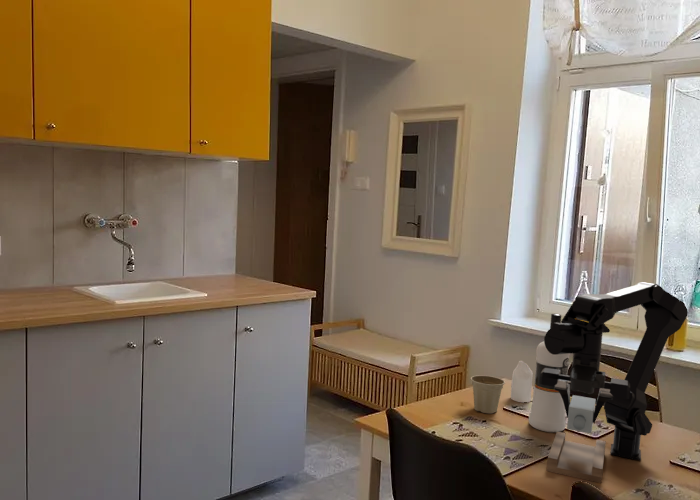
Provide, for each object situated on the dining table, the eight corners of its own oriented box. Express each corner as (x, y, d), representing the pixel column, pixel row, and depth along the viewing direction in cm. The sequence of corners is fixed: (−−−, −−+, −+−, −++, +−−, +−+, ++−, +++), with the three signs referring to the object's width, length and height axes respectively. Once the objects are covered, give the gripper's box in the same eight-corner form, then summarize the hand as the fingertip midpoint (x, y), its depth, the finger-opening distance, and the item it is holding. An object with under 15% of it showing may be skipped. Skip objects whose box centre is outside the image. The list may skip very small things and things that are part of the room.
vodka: (543, 418, 167) (553, 310, 165) (572, 430, 160) (583, 316, 157) (520, 423, 162) (530, 311, 160) (549, 435, 154) (559, 318, 152)
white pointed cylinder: (537, 360, 182) (529, 364, 178) (533, 400, 183) (525, 404, 179) (518, 356, 186) (510, 359, 182) (514, 395, 187) (506, 399, 183)
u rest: (555, 443, 149) (556, 431, 149) (604, 453, 145) (605, 441, 145) (546, 470, 133) (547, 457, 133) (601, 483, 128) (602, 469, 128)
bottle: (571, 415, 144) (572, 395, 144) (593, 419, 142) (595, 398, 142) (565, 433, 133) (567, 410, 132) (590, 438, 131) (592, 415, 130)
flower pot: (461, 406, 174) (463, 376, 173) (488, 403, 178) (490, 374, 177) (481, 417, 165) (484, 385, 165) (509, 414, 169) (512, 383, 169)
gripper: (538, 352, 134) (533, 422, 135) (632, 366, 126) (625, 440, 127) (545, 343, 144) (539, 408, 145) (632, 355, 136) (626, 424, 137)
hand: (580, 419), depth 138 cm, fingers closed on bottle, 5 cm apart
